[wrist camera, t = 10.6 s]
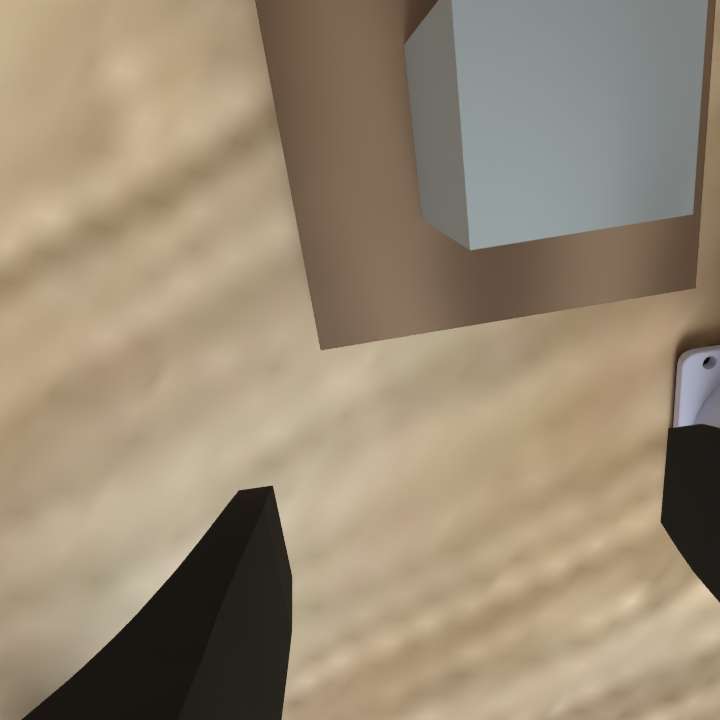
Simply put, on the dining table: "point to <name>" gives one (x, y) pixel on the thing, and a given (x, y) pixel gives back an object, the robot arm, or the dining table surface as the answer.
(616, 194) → the grey block
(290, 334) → the dining table surface
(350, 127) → the walnut block
